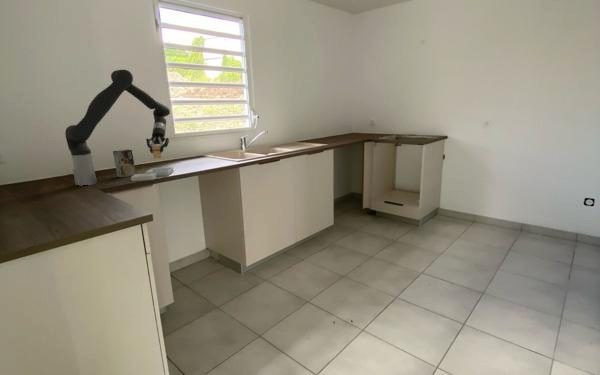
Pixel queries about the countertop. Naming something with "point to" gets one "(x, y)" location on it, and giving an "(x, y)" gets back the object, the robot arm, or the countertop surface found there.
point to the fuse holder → (143, 177)
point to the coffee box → (124, 163)
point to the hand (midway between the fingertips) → (156, 152)
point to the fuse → (156, 152)
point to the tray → (161, 171)
